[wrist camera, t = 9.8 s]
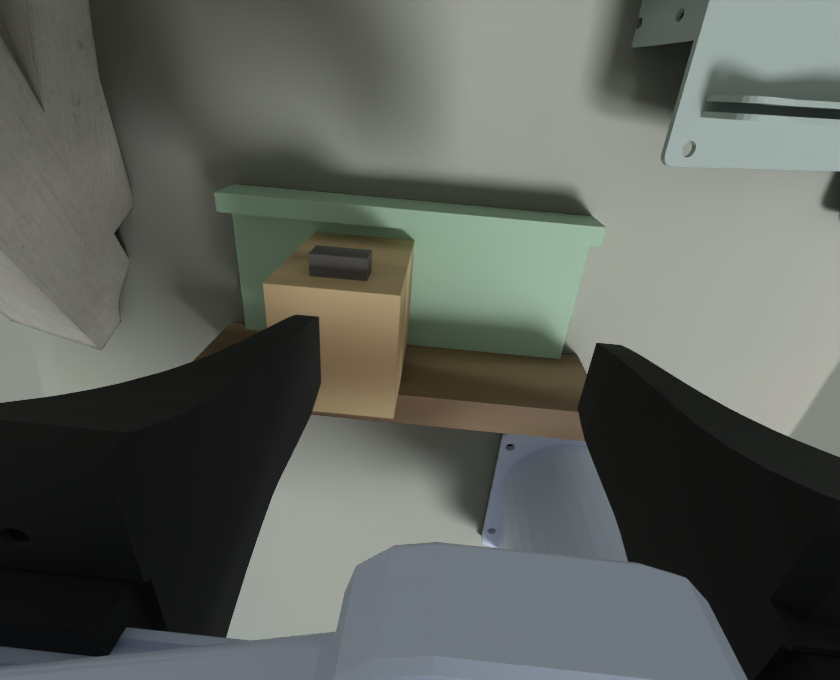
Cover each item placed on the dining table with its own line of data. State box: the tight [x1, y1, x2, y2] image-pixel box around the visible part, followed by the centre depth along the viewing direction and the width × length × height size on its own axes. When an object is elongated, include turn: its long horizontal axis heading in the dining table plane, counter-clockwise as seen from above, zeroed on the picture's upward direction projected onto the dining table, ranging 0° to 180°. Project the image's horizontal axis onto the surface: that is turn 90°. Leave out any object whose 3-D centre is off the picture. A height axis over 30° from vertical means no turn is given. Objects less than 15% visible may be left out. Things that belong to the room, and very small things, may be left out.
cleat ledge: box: [214, 184, 606, 359], centre depth 21 cm, size 7×16×2 cm, turn 86°
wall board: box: [194, 322, 587, 441], centre depth 22 cm, size 2×18×5 cm, turn 85°
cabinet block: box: [263, 232, 415, 419], centre depth 19 cm, size 6×4×6 cm
